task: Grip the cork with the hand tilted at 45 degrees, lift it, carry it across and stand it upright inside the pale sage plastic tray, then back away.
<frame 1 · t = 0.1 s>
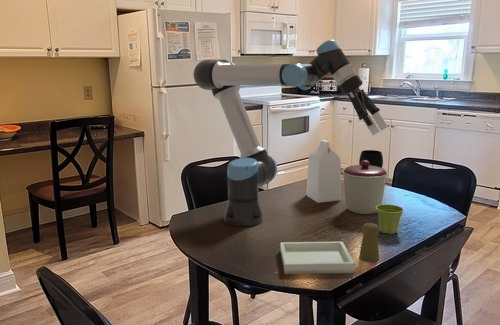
hand: (380, 131, 151), 36 cm above the table, tool tilted 35°, fingers open, 13 cm apart
plant pot: (388, 231, 157), on the table
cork: (369, 258, 135), on the table
milk: (323, 198, 197), on the table
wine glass: (369, 194, 201), on the table
tray: (315, 261, 133), on the table
canister: (363, 211, 179), on the table
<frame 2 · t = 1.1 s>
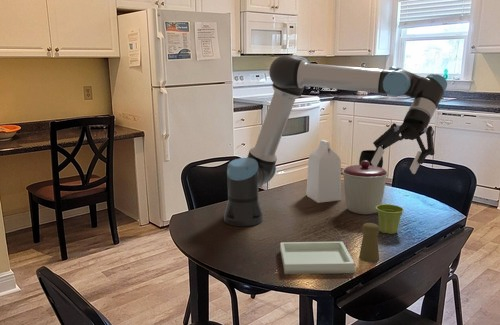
hand: (392, 168, 136), 27 cm above the table, tool tilted 45°, fingers open, 13 cm apart
nothing on the table moved.
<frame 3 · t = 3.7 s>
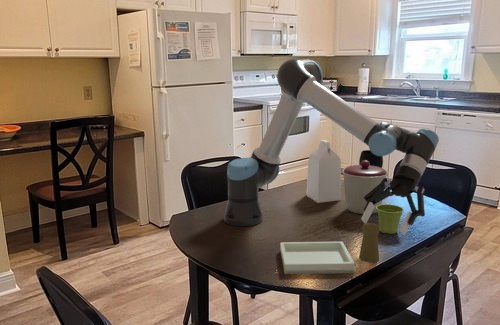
hand: (382, 226, 135), 9 cm above the table, tool tilted 45°, fingers open, 13 cm apart
nothing on the table moved.
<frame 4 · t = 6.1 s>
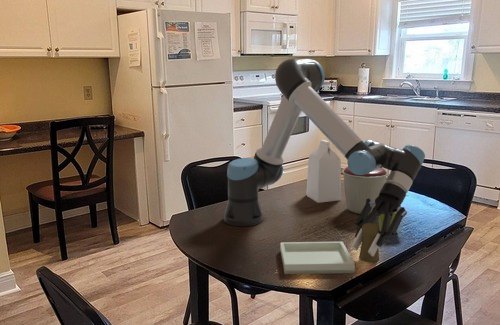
hand: (362, 251, 132), 3 cm above the table, tool tilted 45°, fingers closed on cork, 5 cm apart
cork: (369, 258, 135), on the table, touching gripper
everything else where it was.
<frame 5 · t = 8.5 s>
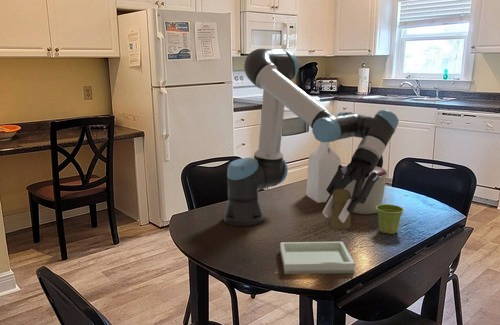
hand: (332, 217, 127), 15 cm above the table, tool tilted 45°, fingers closed on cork, 5 cm apart
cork: (340, 225, 131), point 11 cm above the table, touching gripper
everything else where it was.
when the fingers open (6 cm above the table, at t = 11.1 s): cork drops 1 cm, resting on tray.
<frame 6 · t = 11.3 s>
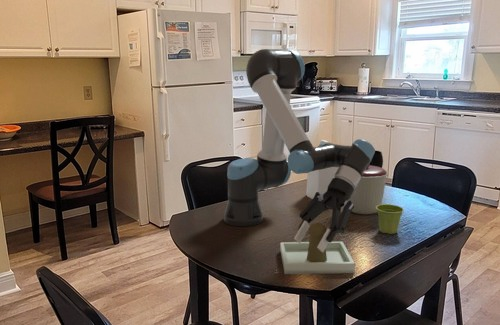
hand: (308, 245, 129), 6 cm above the table, tool tilted 45°, fingers open, 8 cm apart
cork: (316, 259, 132), point 1 cm above the table, touching tray
everything else where it was.
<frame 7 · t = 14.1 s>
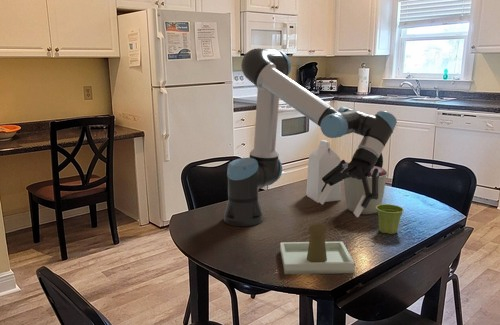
hand: (337, 208, 138), 14 cm above the table, tool tilted 40°, fingers open, 13 cm apart
nothing on the table moved.
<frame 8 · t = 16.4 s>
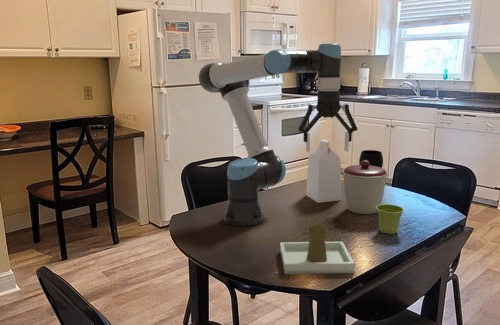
hand: (327, 151, 154), 29 cm above the table, tool pointing down, fingers open, 13 cm apart
nothing on the table moved.
at the end: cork inside the target area on the tray (0.6 cm from its centre), point 0.8 cm above the tray's base; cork tilted 0°; the gripper is holding nothing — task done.
